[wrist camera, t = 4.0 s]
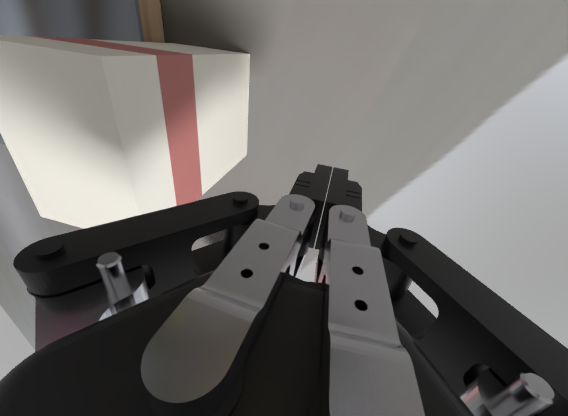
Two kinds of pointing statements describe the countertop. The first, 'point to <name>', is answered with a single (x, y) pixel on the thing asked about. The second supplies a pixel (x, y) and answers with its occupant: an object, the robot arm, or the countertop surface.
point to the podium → (83, 20)
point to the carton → (120, 123)
